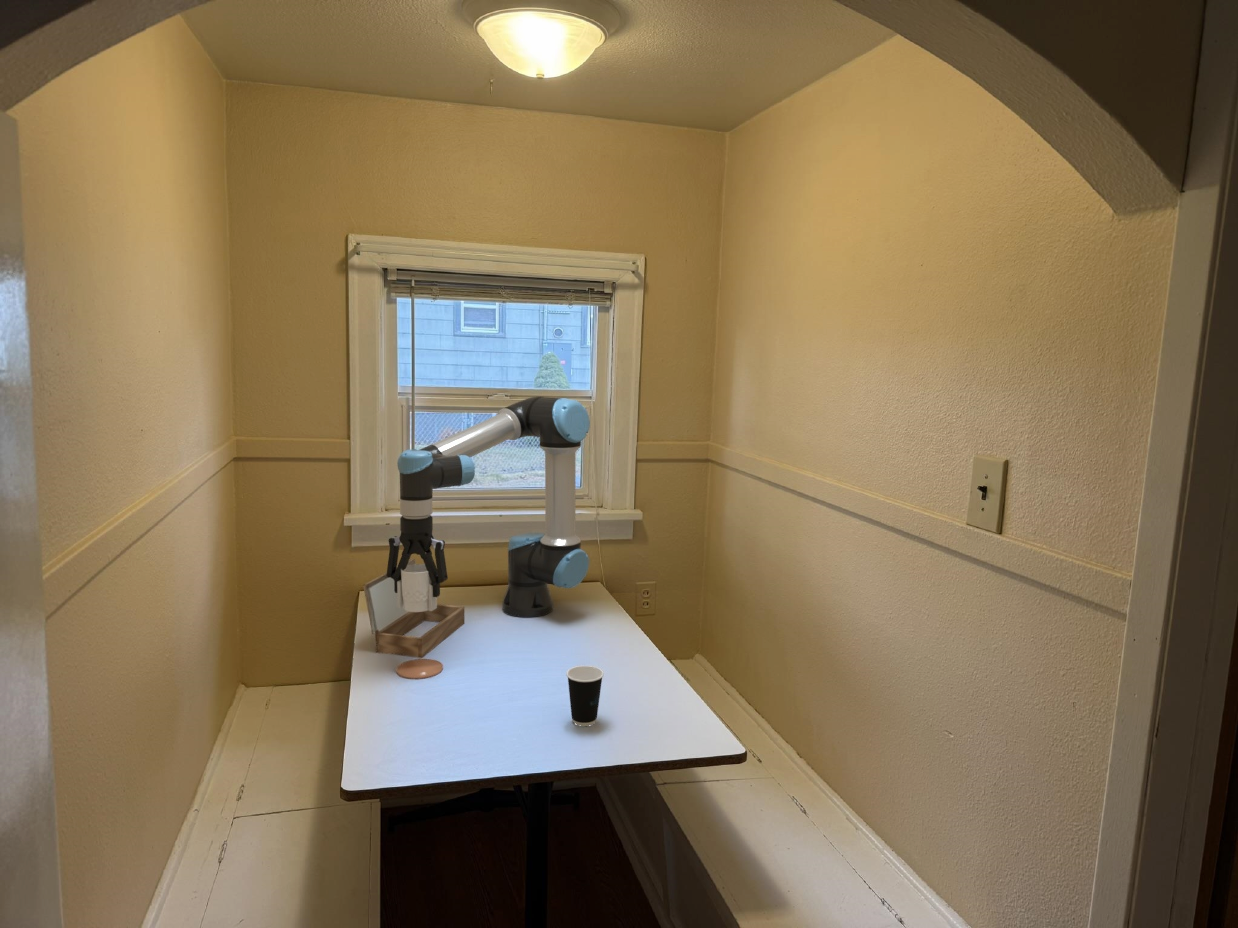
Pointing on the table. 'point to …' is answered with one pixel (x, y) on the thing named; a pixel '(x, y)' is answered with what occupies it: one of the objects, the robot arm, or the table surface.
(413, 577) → the white cup
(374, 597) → the lid
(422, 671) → the saucer
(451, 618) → the cold frame
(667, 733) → the table surface
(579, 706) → the dixie cup
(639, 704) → the table surface
